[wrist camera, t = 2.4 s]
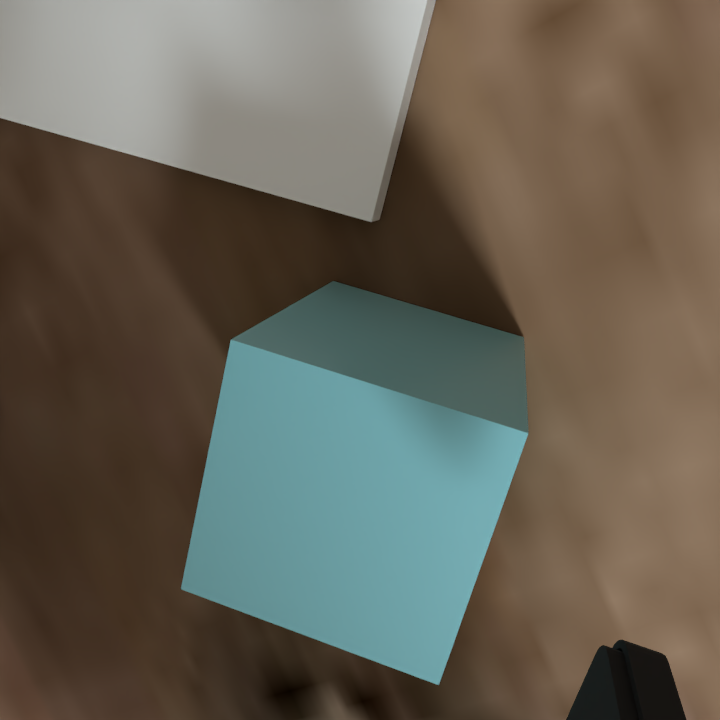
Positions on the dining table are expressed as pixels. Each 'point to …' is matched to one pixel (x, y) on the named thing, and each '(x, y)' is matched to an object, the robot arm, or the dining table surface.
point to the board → (225, 87)
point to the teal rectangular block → (359, 473)
